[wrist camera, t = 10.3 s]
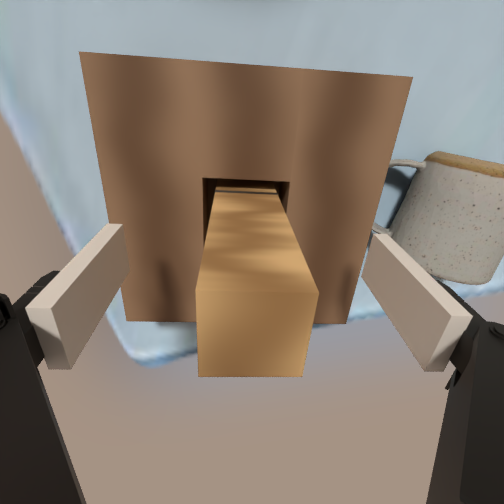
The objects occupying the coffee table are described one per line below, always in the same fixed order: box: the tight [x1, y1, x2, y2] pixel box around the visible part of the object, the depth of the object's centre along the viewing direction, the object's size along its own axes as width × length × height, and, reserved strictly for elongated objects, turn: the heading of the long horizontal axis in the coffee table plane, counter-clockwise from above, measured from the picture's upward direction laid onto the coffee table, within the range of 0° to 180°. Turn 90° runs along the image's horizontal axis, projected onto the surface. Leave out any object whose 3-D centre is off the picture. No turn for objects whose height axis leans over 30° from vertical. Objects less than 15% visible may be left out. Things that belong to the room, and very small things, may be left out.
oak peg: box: [195, 178, 319, 377], centre depth 17 cm, size 4×4×15 cm
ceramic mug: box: [372, 151, 504, 285], centre depth 22 cm, size 11×8×8 cm
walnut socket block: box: [79, 52, 413, 324], centre depth 22 cm, size 18×18×5 cm
